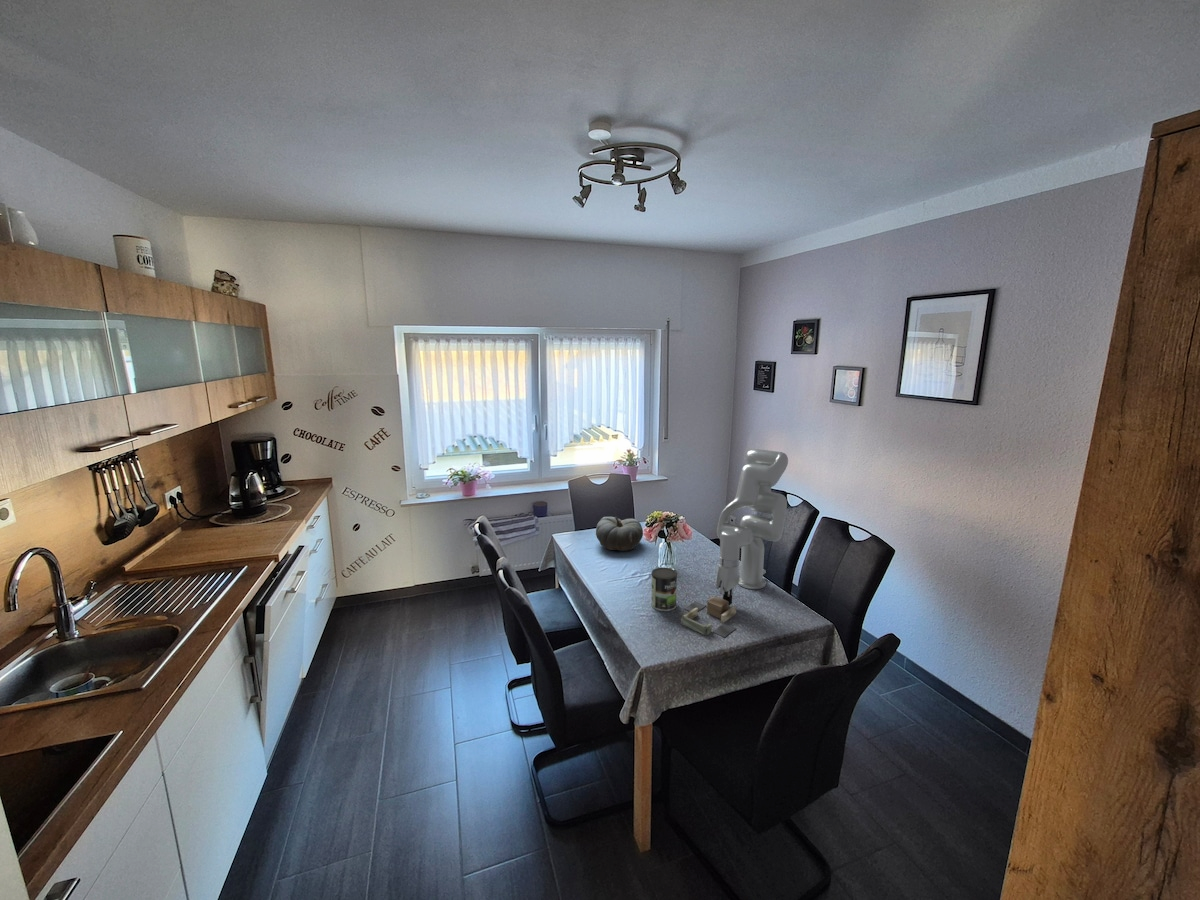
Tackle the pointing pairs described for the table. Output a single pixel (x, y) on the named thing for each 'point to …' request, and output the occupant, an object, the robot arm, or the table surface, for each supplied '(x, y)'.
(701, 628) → the trap lane
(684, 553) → the table surface
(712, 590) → the table surface
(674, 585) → the coffee can
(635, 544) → the gourd
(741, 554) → the robot arm
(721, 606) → the block
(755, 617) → the table surface
